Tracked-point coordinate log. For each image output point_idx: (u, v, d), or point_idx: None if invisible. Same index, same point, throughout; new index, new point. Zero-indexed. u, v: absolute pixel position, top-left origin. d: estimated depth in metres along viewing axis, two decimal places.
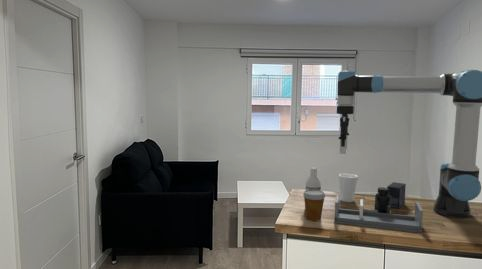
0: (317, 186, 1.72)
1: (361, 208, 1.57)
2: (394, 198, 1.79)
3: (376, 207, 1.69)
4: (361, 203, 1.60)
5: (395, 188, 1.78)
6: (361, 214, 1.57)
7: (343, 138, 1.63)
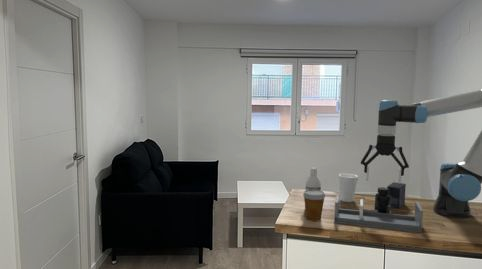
0: (317, 186, 1.72)
1: (361, 208, 1.57)
2: (395, 198, 1.79)
3: (376, 207, 1.69)
4: (361, 203, 1.60)
5: (395, 188, 1.78)
6: (361, 214, 1.57)
7: None
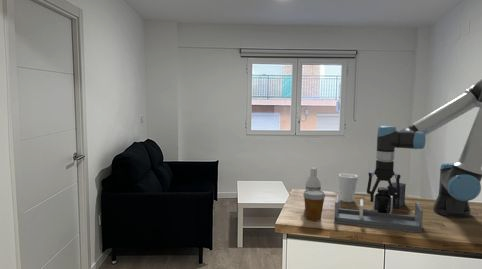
0: (317, 186, 1.72)
1: (361, 208, 1.57)
2: None
3: (376, 207, 1.69)
4: (361, 203, 1.60)
5: (395, 188, 1.78)
6: (361, 214, 1.57)
7: None
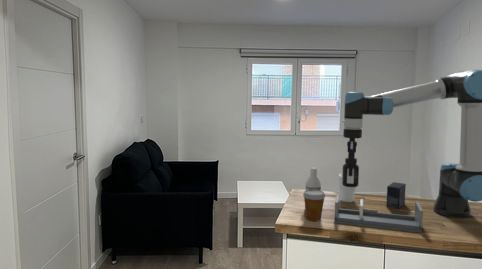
0: (317, 186, 1.72)
1: (361, 208, 1.57)
2: (395, 198, 1.79)
3: (355, 179, 1.59)
4: (361, 203, 1.60)
5: (395, 188, 1.78)
6: (361, 214, 1.57)
7: (351, 167, 1.55)
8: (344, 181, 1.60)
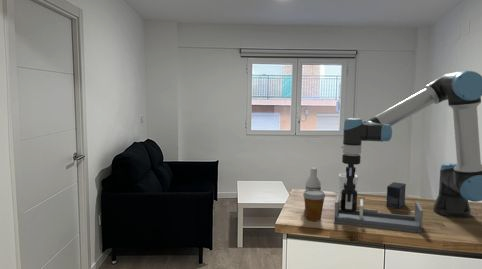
0: (317, 186, 1.72)
1: (361, 208, 1.57)
2: (395, 198, 1.79)
3: (353, 205, 1.60)
4: (361, 203, 1.60)
5: (395, 188, 1.78)
6: (361, 214, 1.57)
7: (349, 194, 1.56)
8: (342, 206, 1.62)
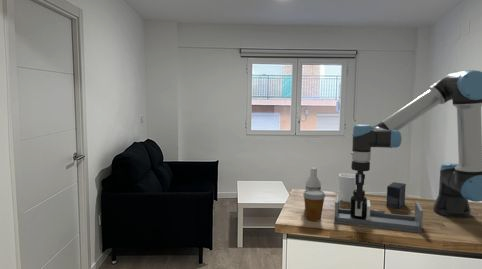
0: (317, 186, 1.72)
1: (368, 209, 1.56)
2: (395, 198, 1.79)
3: (363, 212, 1.59)
4: (368, 204, 1.59)
5: (395, 188, 1.78)
6: (368, 215, 1.56)
7: (359, 201, 1.56)
8: (352, 213, 1.61)
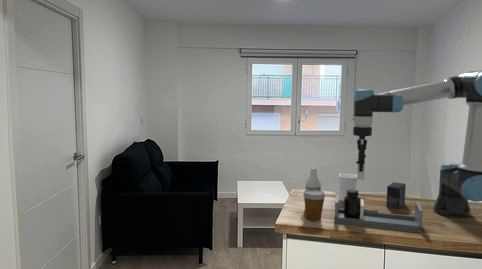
0: (317, 186, 1.72)
1: (362, 208, 1.57)
2: (394, 198, 1.79)
3: (357, 212, 1.60)
4: (362, 203, 1.60)
5: (395, 188, 1.78)
6: (362, 214, 1.57)
7: (361, 163, 1.51)
8: (346, 213, 1.61)
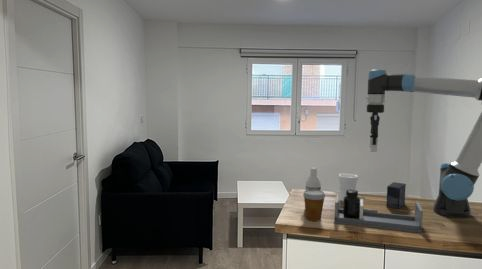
0: (317, 186, 1.72)
1: (361, 208, 1.57)
2: (395, 198, 1.79)
3: (356, 212, 1.60)
4: (361, 203, 1.60)
5: (395, 188, 1.78)
6: (361, 214, 1.57)
7: (375, 136, 1.64)
8: (345, 213, 1.62)
